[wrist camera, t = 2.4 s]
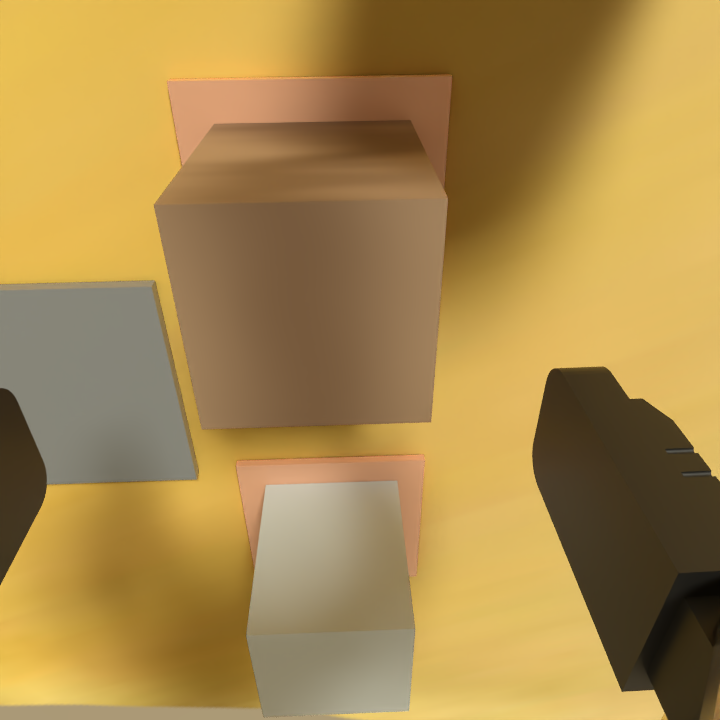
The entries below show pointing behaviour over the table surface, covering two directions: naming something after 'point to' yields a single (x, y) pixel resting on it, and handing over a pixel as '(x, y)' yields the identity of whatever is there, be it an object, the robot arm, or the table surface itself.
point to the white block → (331, 601)
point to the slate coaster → (96, 381)
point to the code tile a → (315, 105)
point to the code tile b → (333, 471)
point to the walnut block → (307, 273)
